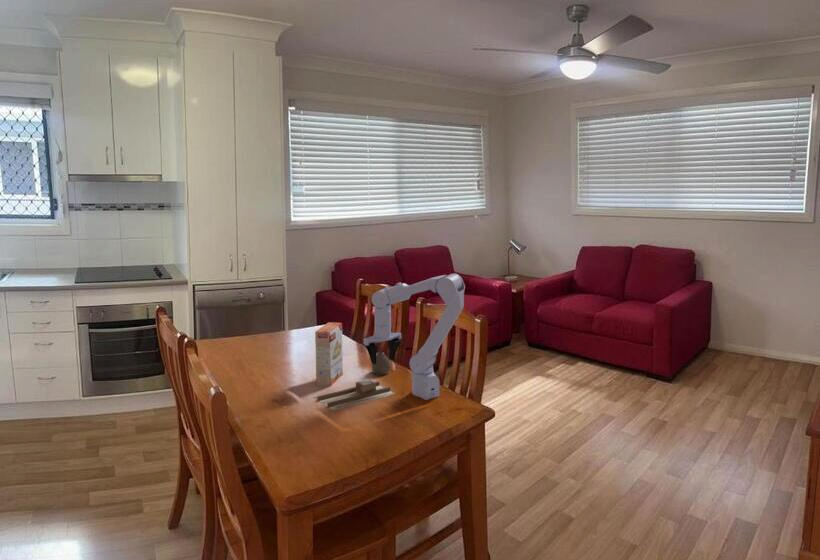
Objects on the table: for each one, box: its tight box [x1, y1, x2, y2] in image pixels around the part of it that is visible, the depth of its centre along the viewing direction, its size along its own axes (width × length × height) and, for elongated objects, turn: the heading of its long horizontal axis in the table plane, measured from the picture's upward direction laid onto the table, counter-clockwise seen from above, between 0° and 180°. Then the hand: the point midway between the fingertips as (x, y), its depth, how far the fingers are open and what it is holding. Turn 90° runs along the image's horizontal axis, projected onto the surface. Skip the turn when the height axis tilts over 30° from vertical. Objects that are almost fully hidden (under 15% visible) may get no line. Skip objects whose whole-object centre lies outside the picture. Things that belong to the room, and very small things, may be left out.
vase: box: [371, 351, 391, 376], centre depth 217 cm, size 7×7×9 cm
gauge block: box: [355, 378, 376, 394], centre depth 197 cm, size 5×5×4 cm
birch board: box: [313, 381, 396, 411], centre depth 195 cm, size 14×24×2 cm, turn 126°
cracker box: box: [314, 321, 344, 387], centre depth 209 cm, size 14×6×21 cm, turn 168°
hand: (382, 361), depth 201 cm, fingers open, 7 cm apart
